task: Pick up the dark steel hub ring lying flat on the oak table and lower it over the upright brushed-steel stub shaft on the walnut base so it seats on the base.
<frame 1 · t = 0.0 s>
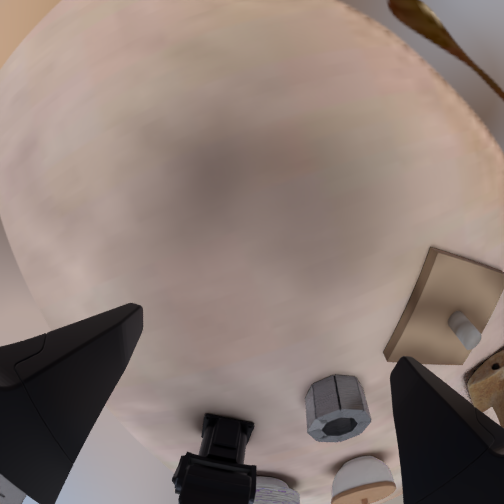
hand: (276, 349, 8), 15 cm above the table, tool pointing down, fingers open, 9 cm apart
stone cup: (495, 371, 26), on the table
lidded jar: (359, 462, 35), on the table
paper bowls: (260, 482, 39), on the table
hub: (334, 394, 28), on the table
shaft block: (448, 311, 23), on the table
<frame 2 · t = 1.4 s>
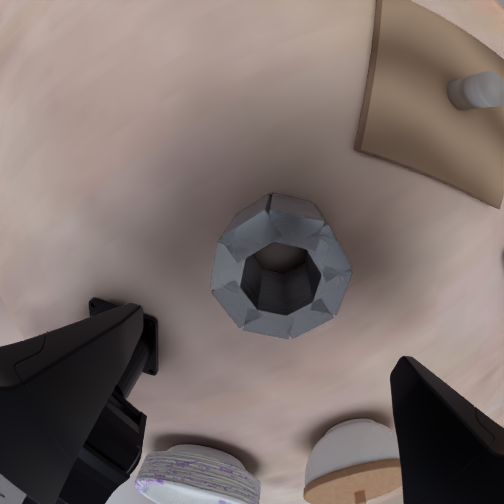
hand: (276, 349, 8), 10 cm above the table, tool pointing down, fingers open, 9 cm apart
lidded jar: (350, 431, 24), on the table
paper bowls: (205, 458, 29), on the table
hub: (280, 246, 18), on the table
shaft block: (447, 98, 13), on the table
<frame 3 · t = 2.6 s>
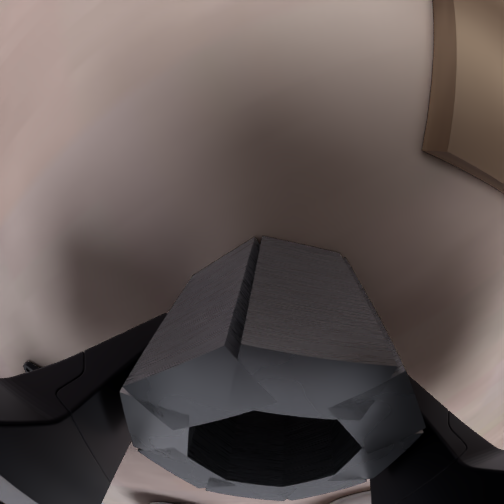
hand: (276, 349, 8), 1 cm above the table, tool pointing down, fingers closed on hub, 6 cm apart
lidded jar: (359, 498, 16), on the table
hub: (277, 330, 9), on the table, touching gripper
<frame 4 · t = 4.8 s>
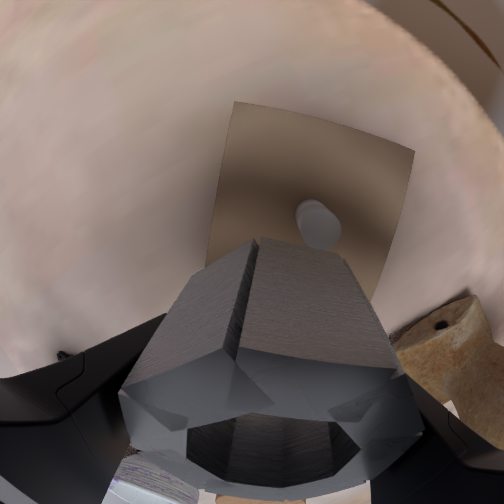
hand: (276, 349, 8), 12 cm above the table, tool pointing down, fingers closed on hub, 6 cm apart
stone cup: (453, 342, 22), on the table
lidded jar: (263, 458, 29), on the table
paper bowls: (158, 466, 33), on the table
hub: (276, 331, 9), point 11 cm above the table, touching gripper
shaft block: (308, 210, 18), on the table
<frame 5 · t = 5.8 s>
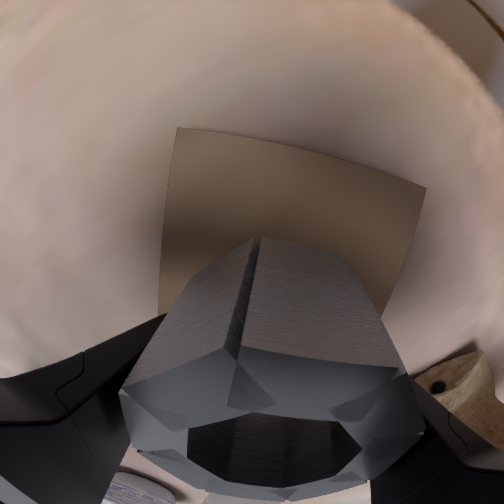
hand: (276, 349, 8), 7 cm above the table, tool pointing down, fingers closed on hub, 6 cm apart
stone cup: (451, 392, 18), on the table
lidded jar: (246, 487, 26), on the table
paper bowls: (145, 483, 31), on the table
hub: (277, 331, 9), point 6 cm above the table, touching gripper
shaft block: (279, 264, 15), on the table
when the fingers open (4 cm above the table, at t = 6.8 s): hub drops 2 cm, resting on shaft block.
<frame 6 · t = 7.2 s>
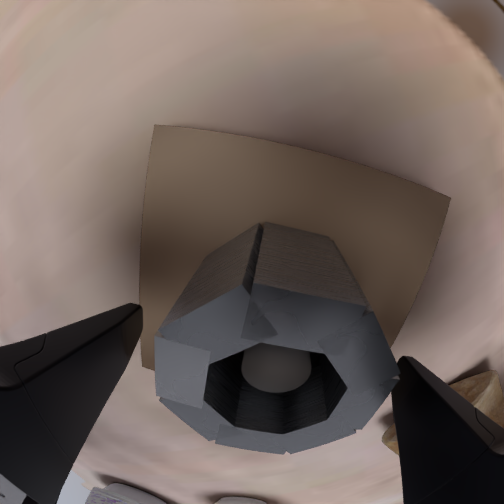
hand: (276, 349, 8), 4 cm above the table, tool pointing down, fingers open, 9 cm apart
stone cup: (459, 409, 16), on the table
lidded jar: (243, 501, 24), on the table
paper bowls: (140, 494, 28), on the table
hub: (277, 303, 11), point 1 cm above the table, touching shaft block
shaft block: (278, 285, 13), on the table
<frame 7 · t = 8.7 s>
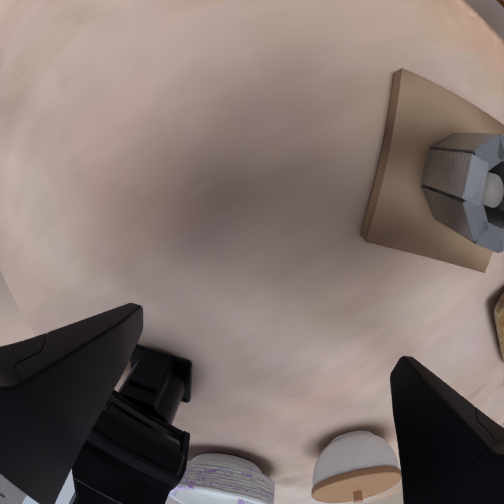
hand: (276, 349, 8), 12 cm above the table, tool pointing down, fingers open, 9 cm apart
lidded jar: (351, 440, 28), on the table
paper bowls: (226, 464, 33), on the table
hub: (459, 181, 15), point 1 cm above the table, touching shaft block
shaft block: (448, 177, 16), on the table
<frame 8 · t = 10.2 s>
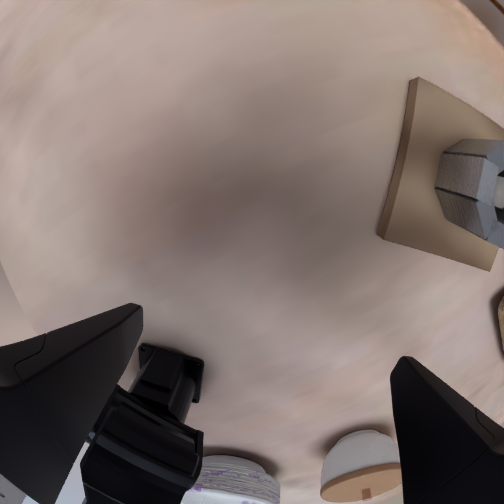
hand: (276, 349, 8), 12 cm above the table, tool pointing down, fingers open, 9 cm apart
lidded jar: (357, 440, 28), on the table
paper bowls: (230, 466, 32), on the table
hub: (468, 184, 15), point 1 cm above the table, touching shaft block
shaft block: (458, 180, 17), on the table
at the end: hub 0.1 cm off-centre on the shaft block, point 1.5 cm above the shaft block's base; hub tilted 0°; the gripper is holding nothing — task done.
